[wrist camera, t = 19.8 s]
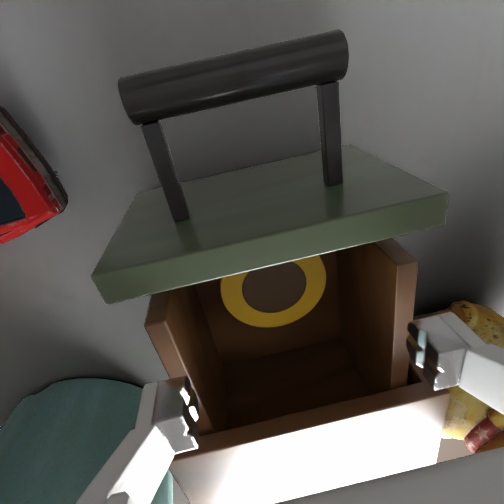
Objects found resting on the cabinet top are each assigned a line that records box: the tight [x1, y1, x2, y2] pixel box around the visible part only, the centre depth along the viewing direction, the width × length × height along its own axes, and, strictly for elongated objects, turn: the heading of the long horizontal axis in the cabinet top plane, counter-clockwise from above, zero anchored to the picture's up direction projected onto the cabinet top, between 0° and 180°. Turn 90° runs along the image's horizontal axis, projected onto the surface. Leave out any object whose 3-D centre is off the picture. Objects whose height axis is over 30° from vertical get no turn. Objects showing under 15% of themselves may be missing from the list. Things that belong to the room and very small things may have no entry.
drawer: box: [91, 29, 449, 437], centre depth 15 cm, size 18×11×8 cm, turn 11°
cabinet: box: [168, 356, 450, 504], centre depth 21 cm, size 15×13×10 cm
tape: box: [220, 255, 326, 327], centre depth 17 cm, size 5×5×3 cm
